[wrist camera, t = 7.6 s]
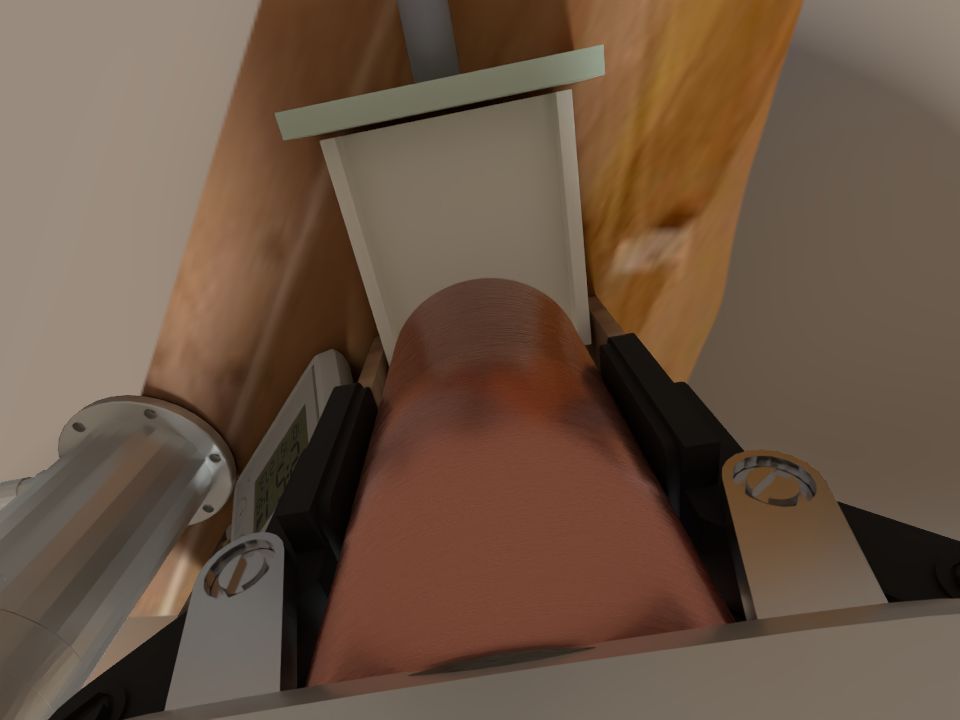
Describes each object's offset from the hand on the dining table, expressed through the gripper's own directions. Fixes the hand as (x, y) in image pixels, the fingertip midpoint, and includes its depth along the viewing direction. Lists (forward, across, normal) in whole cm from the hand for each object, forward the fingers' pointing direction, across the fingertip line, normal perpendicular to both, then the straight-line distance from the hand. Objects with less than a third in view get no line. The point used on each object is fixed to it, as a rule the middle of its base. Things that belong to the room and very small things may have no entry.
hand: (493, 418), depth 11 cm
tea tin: (+2, 0, 0) cm, 2 cm away
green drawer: (+22, 0, -3) cm, 22 cm away
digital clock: (+22, +15, +13) cm, 30 cm away
